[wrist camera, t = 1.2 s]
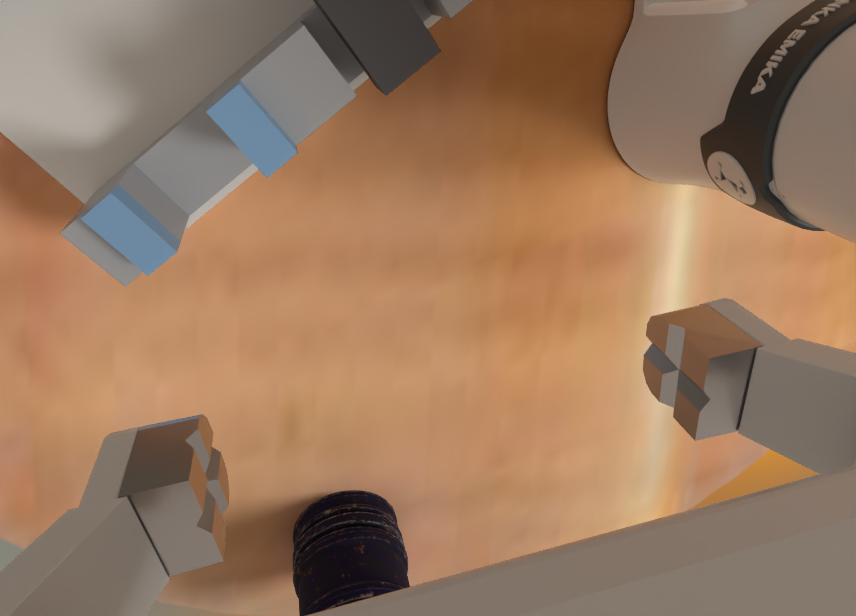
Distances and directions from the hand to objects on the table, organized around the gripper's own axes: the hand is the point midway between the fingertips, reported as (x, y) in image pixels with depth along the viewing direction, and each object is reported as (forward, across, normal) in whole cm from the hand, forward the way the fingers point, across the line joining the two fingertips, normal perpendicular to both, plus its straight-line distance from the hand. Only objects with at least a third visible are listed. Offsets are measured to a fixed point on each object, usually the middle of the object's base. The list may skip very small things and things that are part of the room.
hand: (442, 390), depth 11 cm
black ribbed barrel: (+31, +5, +38) cm, 49 cm away
